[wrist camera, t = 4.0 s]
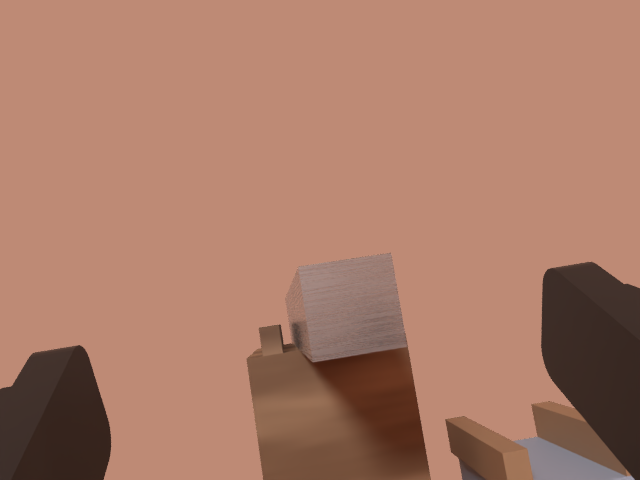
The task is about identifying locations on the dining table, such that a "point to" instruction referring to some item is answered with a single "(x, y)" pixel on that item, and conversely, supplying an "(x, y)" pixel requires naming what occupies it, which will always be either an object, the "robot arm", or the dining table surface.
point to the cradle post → (535, 449)
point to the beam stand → (335, 414)
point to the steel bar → (345, 308)
